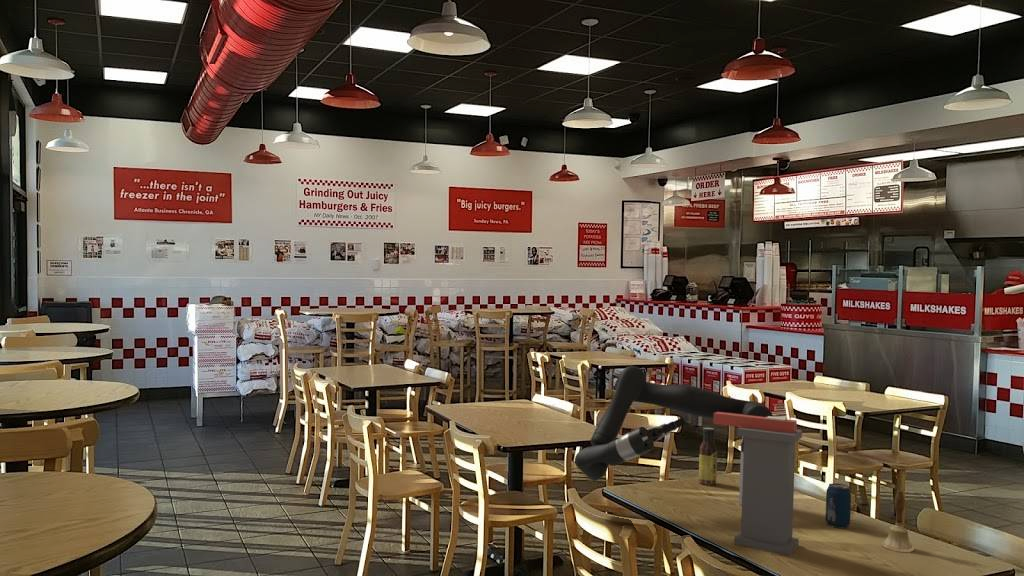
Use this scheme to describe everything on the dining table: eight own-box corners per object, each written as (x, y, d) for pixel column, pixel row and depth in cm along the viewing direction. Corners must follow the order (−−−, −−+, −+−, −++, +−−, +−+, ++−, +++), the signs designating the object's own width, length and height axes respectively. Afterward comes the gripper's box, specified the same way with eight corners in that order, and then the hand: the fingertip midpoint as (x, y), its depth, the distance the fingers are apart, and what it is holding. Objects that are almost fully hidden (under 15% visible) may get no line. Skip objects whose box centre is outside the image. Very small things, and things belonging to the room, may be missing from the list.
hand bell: (921, 552, 222) (923, 494, 221) (893, 553, 220) (895, 494, 220) (901, 542, 230) (903, 486, 230) (875, 543, 228) (877, 486, 228)
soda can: (850, 524, 246) (851, 484, 246) (849, 530, 240) (850, 489, 240) (826, 520, 249) (827, 481, 249) (824, 526, 243) (825, 486, 243)
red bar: (713, 423, 230) (713, 411, 230) (717, 422, 233) (717, 410, 233) (793, 433, 219) (793, 420, 219) (796, 431, 222) (796, 419, 222)
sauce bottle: (716, 486, 287) (718, 430, 287) (698, 485, 288) (700, 429, 288) (715, 482, 294) (717, 427, 293) (698, 480, 295) (699, 426, 295)
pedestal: (734, 544, 224) (737, 428, 223) (744, 535, 232) (747, 423, 232) (790, 555, 216) (794, 435, 215) (798, 545, 224) (802, 430, 224)
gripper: (619, 435, 239) (665, 413, 232) (637, 428, 251) (682, 407, 244) (630, 459, 237) (677, 438, 230) (648, 451, 249) (693, 430, 242)
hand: (680, 422), depth 237 cm, fingers open, 8 cm apart
